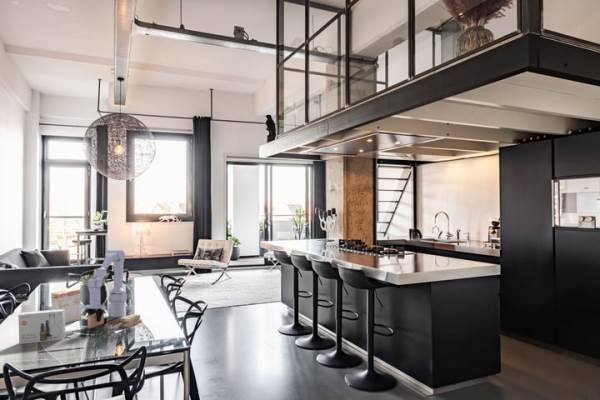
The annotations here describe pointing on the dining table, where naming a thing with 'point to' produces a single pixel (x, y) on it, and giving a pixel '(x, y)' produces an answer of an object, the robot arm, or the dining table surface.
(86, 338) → the dining table surface
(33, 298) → the dining table surface
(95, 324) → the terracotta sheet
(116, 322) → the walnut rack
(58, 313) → the skincare box
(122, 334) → the dining table surface
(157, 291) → the dining table surface
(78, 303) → the coffeecake box
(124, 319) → the plywood offcut stack
